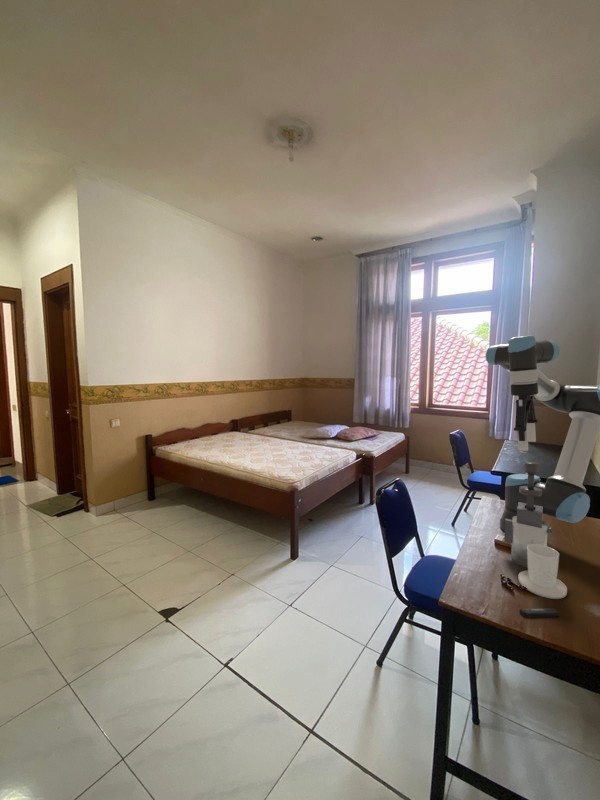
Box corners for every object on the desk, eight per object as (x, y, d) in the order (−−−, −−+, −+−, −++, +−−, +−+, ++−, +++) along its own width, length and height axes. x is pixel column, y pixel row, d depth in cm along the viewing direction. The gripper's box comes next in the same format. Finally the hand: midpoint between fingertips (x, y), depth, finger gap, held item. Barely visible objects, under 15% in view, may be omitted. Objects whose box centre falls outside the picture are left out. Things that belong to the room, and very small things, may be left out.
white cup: (540, 572, 106) (541, 542, 105) (564, 587, 98) (566, 555, 97) (519, 576, 104) (520, 545, 103) (543, 591, 96) (544, 559, 96)
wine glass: (518, 509, 113) (519, 464, 111) (519, 503, 118) (520, 459, 117) (541, 514, 109) (542, 466, 108) (541, 508, 114) (543, 462, 113)
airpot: (502, 560, 115) (504, 507, 114) (505, 548, 123) (507, 498, 121) (550, 573, 107) (553, 517, 105) (551, 559, 115) (553, 506, 113)
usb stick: (552, 611, 91) (552, 606, 91) (560, 618, 88) (560, 613, 88) (518, 612, 91) (518, 606, 91) (524, 619, 88) (525, 613, 88)
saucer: (519, 569, 110) (520, 566, 109) (566, 582, 102) (566, 579, 102) (516, 588, 100) (516, 584, 100) (567, 604, 93) (567, 600, 93)
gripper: (518, 380, 121) (521, 437, 123) (501, 387, 103) (505, 453, 105) (543, 379, 116) (546, 438, 117) (530, 386, 98) (534, 455, 100)
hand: (527, 445), depth 111 cm, fingers open, 13 cm apart
